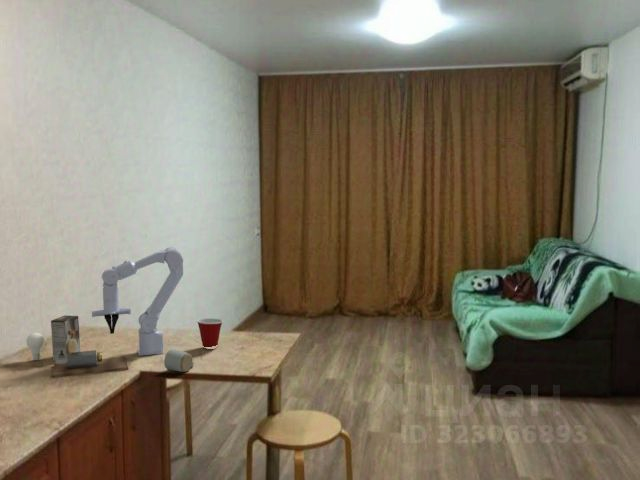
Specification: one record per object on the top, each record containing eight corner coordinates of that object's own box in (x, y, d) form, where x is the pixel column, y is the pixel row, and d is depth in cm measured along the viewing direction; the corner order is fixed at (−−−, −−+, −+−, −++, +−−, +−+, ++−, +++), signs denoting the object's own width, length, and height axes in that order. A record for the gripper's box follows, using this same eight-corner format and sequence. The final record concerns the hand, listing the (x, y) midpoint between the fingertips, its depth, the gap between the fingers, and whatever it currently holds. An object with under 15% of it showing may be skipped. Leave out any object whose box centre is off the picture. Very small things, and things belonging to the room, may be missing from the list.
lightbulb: (49, 359, 244) (47, 331, 243) (35, 363, 239) (34, 335, 237) (37, 357, 247) (36, 330, 246) (23, 361, 241) (22, 333, 240)
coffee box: (66, 353, 252) (64, 314, 250) (80, 354, 250) (79, 315, 249) (52, 360, 243) (50, 320, 241) (67, 361, 242) (65, 321, 240)
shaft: (102, 360, 237) (101, 350, 236) (102, 362, 233) (101, 353, 233) (56, 364, 231) (55, 355, 231) (55, 367, 228) (55, 357, 227)
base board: (126, 358, 245) (126, 356, 245) (128, 369, 232) (128, 366, 232) (54, 366, 236) (54, 363, 236) (52, 377, 223) (52, 374, 223)
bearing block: (96, 362, 237) (96, 350, 237) (96, 366, 232) (96, 354, 231) (68, 365, 234) (67, 352, 233) (67, 369, 228) (67, 357, 228)
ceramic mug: (182, 375, 226) (181, 354, 225) (163, 372, 229) (163, 351, 228) (199, 367, 235) (199, 347, 235) (181, 364, 239) (181, 344, 238)
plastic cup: (229, 346, 262) (228, 318, 261) (211, 353, 253) (210, 324, 251) (209, 342, 268) (209, 315, 266) (191, 348, 259) (191, 320, 257)
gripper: (91, 302, 240) (93, 337, 241) (130, 300, 245) (131, 333, 247) (91, 299, 246) (92, 332, 248) (129, 296, 252) (130, 329, 253)
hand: (112, 333), depth 248 cm, fingers closed
